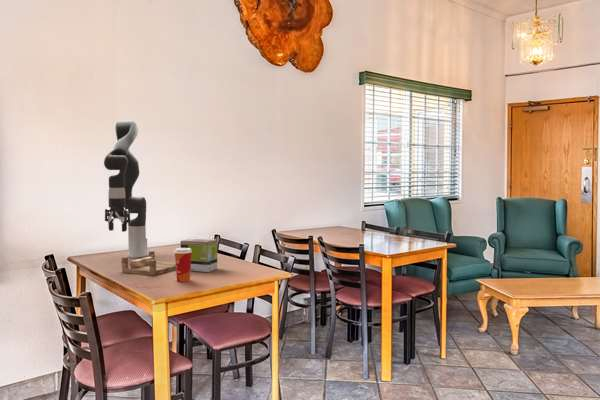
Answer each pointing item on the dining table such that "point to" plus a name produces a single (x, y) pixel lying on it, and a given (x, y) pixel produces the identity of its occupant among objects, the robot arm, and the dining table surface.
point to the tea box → (202, 253)
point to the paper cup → (183, 264)
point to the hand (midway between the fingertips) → (117, 230)
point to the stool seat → (148, 267)
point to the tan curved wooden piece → (141, 261)
